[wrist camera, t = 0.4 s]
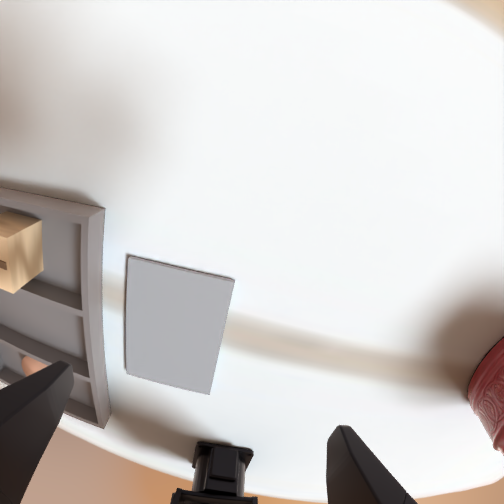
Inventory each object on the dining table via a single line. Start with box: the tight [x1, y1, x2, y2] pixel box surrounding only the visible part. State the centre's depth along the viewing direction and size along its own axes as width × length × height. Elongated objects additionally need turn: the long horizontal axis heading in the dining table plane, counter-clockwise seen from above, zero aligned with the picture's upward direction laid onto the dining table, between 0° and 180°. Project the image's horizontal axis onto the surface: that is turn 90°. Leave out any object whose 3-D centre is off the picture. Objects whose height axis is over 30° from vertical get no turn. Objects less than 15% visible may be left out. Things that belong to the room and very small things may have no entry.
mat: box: [126, 256, 235, 395], centre depth 24 cm, size 12×8×1 cm, turn 167°
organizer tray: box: [0, 187, 111, 429], centre depth 23 cm, size 23×16×2 cm
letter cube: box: [0, 211, 44, 294], centre depth 19 cm, size 4×4×5 cm
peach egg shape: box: [21, 356, 48, 376], centre depth 26 cm, size 5×5×1 cm
